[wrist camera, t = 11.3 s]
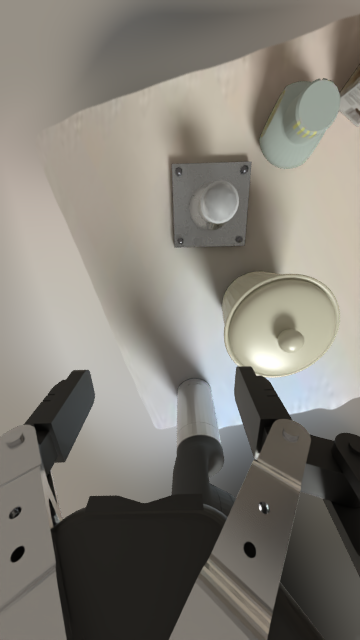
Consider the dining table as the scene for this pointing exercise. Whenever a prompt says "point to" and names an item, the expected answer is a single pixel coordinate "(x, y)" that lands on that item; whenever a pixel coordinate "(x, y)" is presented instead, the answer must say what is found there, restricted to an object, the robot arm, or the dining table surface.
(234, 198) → the duct stub
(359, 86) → the coffee box
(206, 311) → the dining table surface
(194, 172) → the duct flange
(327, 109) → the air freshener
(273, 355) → the canister
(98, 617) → the robot arm
